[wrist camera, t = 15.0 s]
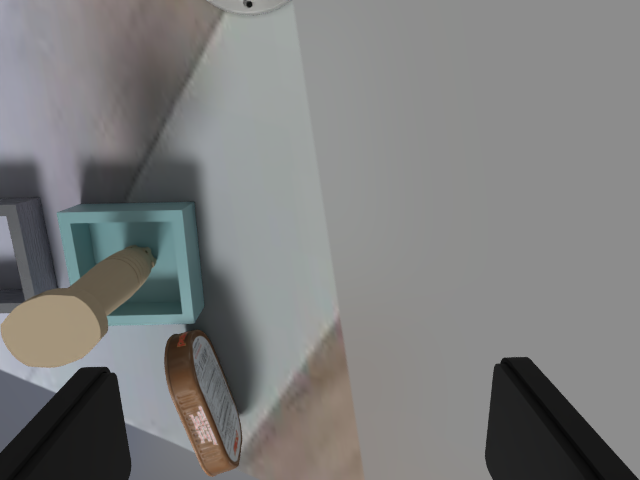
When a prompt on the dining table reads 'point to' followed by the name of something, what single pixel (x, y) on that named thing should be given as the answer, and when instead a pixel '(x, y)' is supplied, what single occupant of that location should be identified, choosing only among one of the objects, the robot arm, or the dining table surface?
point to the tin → (203, 401)
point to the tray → (144, 231)
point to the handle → (75, 311)
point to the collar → (27, 251)
